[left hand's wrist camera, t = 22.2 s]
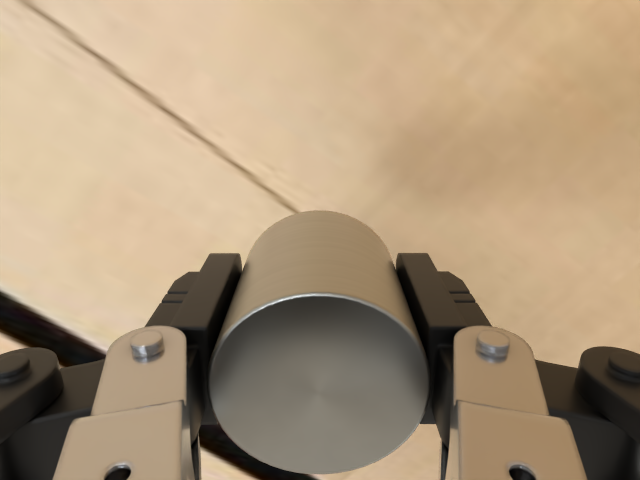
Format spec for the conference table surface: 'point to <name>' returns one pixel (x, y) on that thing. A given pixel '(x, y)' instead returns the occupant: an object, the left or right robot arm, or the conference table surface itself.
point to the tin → (319, 350)
